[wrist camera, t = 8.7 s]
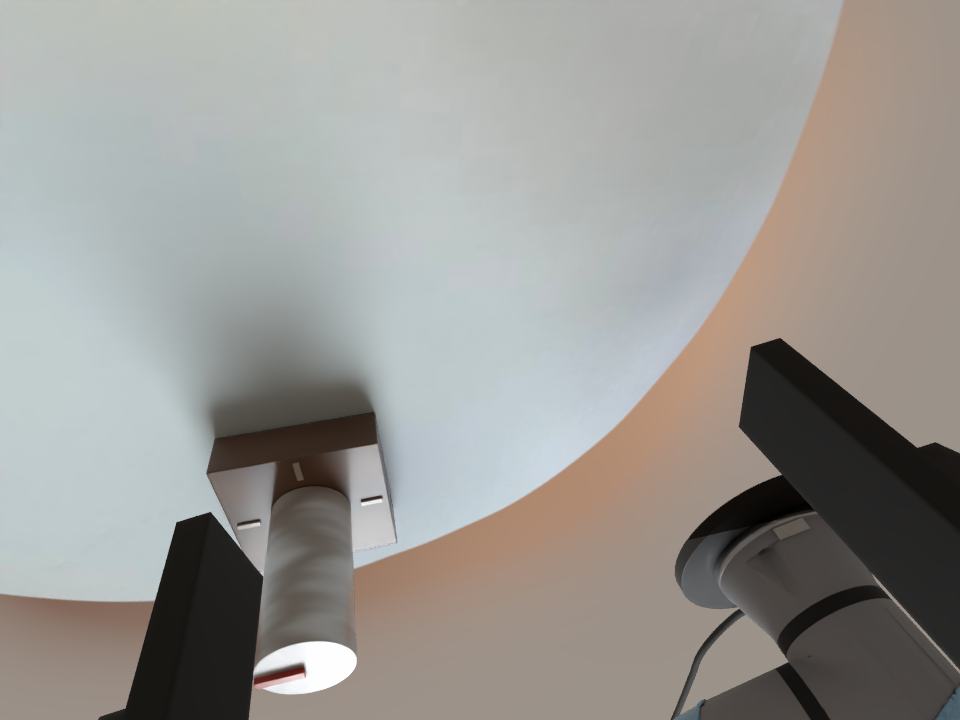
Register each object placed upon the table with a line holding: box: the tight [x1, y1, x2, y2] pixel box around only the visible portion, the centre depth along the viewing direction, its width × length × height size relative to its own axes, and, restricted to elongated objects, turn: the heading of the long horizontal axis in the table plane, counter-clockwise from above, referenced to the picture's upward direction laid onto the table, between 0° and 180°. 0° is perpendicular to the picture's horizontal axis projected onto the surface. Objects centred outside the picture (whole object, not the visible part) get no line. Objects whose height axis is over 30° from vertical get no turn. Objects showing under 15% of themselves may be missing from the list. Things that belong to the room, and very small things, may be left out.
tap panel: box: [206, 413, 397, 572], centre depth 36 cm, size 10×10×3 cm
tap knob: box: [253, 486, 357, 694], centre depth 31 cm, size 5×5×10 cm
